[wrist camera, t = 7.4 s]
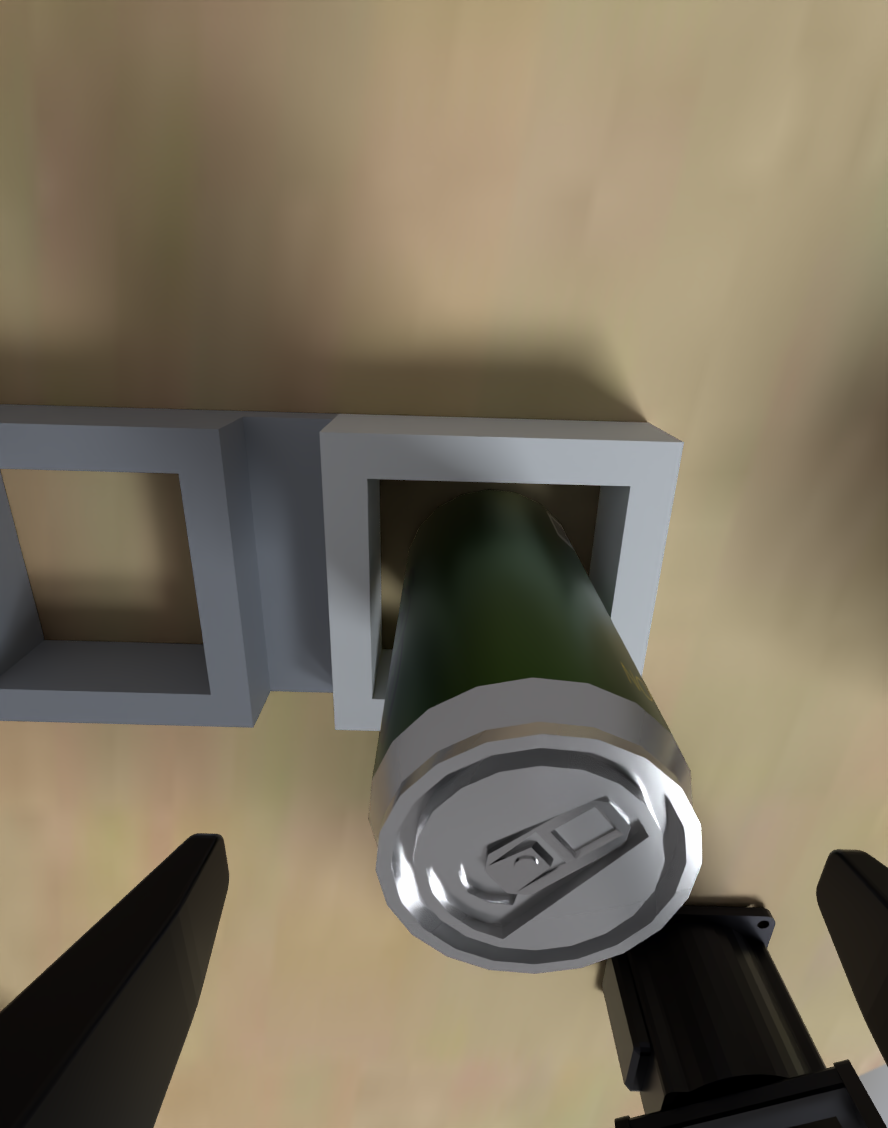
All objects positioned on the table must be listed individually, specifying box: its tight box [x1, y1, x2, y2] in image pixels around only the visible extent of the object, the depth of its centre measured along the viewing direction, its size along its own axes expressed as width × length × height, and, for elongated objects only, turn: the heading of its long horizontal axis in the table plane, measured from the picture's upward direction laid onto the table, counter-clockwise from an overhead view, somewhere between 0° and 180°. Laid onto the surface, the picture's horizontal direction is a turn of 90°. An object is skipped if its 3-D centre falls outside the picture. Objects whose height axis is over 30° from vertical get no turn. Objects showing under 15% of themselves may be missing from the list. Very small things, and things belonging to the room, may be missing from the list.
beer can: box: [368, 490, 702, 974], centre depth 15 cm, size 5×5×12 cm
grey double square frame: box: [0, 404, 684, 731], centre depth 19 cm, size 21×9×3 cm, turn 89°
